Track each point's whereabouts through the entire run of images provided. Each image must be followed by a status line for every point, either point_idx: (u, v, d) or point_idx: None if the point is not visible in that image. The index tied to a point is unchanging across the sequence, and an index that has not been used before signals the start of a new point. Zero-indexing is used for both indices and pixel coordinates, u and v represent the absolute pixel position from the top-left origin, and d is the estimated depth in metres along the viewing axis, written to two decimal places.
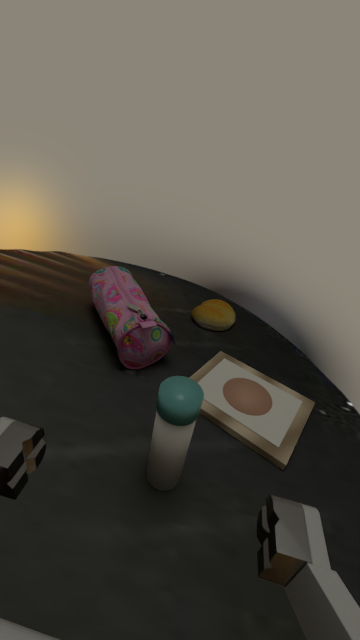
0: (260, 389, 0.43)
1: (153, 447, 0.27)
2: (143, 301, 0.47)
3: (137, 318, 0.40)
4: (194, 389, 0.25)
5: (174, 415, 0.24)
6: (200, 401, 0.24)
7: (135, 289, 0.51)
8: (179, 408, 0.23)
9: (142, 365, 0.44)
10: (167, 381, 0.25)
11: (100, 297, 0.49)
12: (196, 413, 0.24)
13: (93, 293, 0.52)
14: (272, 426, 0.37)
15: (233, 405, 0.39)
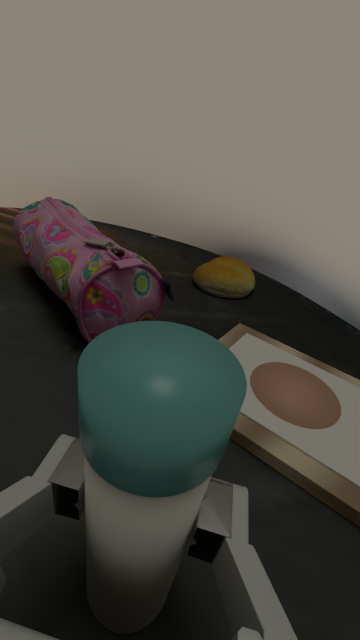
0: (313, 381, 0.25)
1: (87, 539, 0.09)
2: (109, 239, 0.29)
3: (107, 254, 0.23)
4: (210, 359, 0.07)
5: (129, 459, 0.06)
6: (237, 401, 0.06)
7: (92, 228, 0.32)
8: (150, 431, 0.05)
9: None
10: (118, 333, 0.07)
11: (35, 241, 0.30)
12: (221, 447, 0.06)
13: (22, 240, 0.32)
14: (353, 450, 0.19)
15: (272, 410, 0.21)
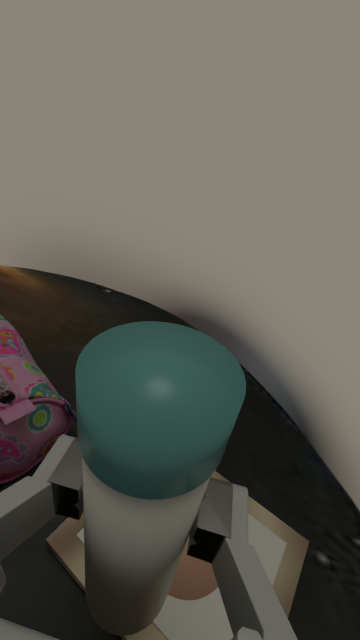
0: None
1: (86, 540, 0.09)
2: (11, 355, 0.28)
3: None
4: (209, 361, 0.07)
5: (126, 461, 0.06)
6: (236, 402, 0.06)
7: None
8: (148, 433, 0.05)
9: (27, 467, 0.26)
10: (117, 334, 0.07)
11: None
12: (220, 449, 0.06)
13: None
14: (224, 631, 0.19)
15: None
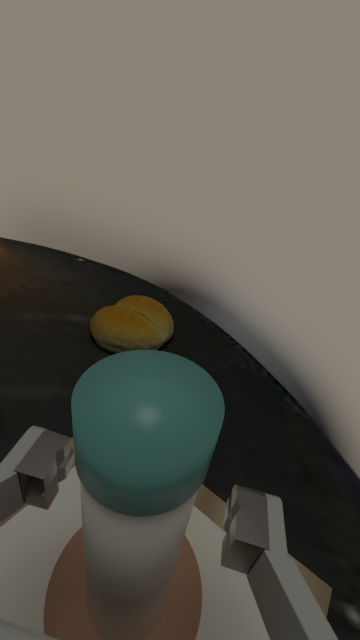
0: None
1: (85, 553, 0.10)
2: None
3: None
4: (193, 387, 0.08)
5: (116, 484, 0.06)
6: (214, 428, 0.07)
7: None
8: (133, 459, 0.06)
9: None
10: (109, 364, 0.08)
11: None
12: (201, 470, 0.07)
13: None
14: None
15: None
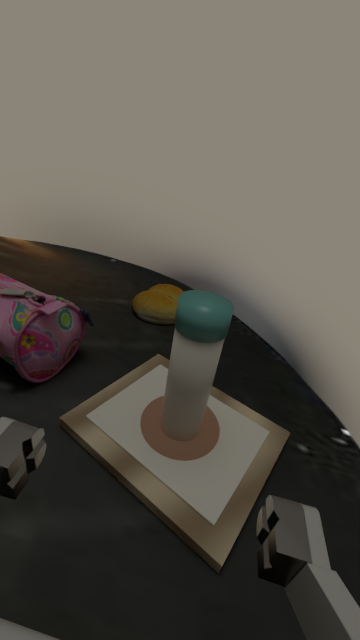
0: None
1: (170, 381, 0.22)
2: (18, 282, 0.31)
3: (31, 304, 0.26)
4: (221, 301, 0.20)
5: (198, 326, 0.19)
6: (230, 311, 0.19)
7: None
8: (205, 315, 0.18)
9: (56, 370, 0.30)
10: (187, 293, 0.21)
11: None
12: (225, 327, 0.19)
13: None
14: (211, 480, 0.22)
15: (151, 443, 0.24)
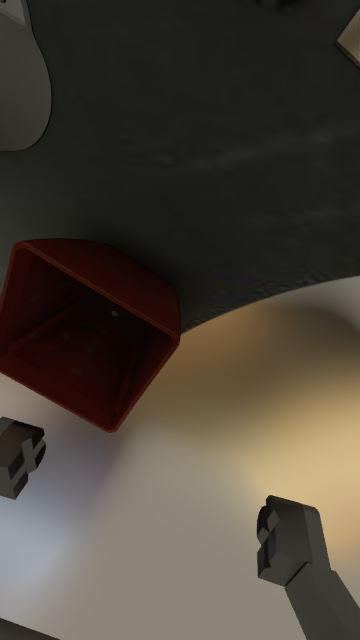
0: None
1: None
2: None
3: None
4: None
5: None
6: None
7: None
8: None
9: None
10: None
11: None
12: None
13: None
14: None
15: None
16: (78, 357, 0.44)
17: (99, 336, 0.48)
